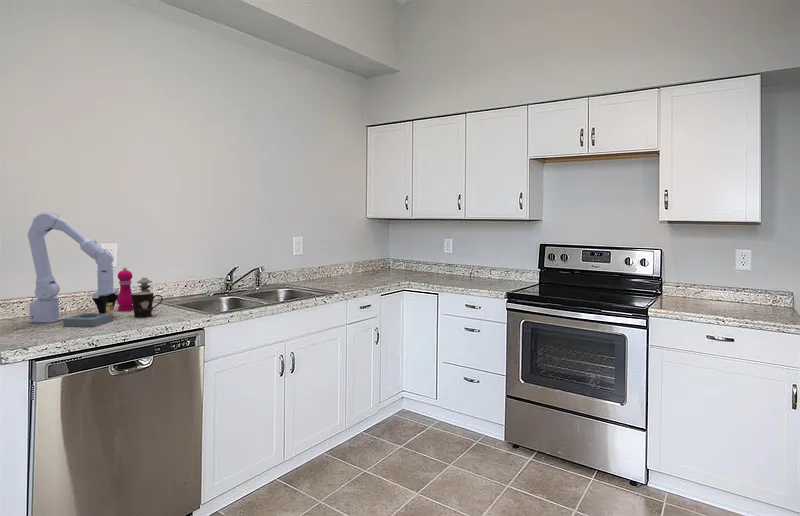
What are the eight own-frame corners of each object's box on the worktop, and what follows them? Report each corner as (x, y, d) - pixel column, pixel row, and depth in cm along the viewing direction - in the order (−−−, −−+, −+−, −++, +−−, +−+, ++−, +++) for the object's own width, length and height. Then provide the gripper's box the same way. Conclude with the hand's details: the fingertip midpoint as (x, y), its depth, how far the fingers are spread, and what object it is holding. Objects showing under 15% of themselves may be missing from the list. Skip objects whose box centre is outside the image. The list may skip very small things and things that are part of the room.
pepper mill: (130, 307, 230) (129, 265, 228) (137, 309, 225) (136, 266, 224) (114, 309, 224) (113, 266, 223) (120, 311, 220) (119, 267, 218)
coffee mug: (129, 318, 206) (128, 294, 205) (134, 314, 214) (134, 292, 213) (159, 317, 209) (158, 294, 208) (163, 313, 217) (163, 291, 216)
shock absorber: (147, 308, 229) (146, 276, 228) (155, 309, 226) (155, 277, 225) (134, 310, 223) (133, 278, 222) (143, 311, 220) (142, 279, 219)
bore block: (63, 326, 188) (63, 318, 188) (84, 320, 200) (83, 313, 200) (93, 327, 188) (93, 319, 188) (112, 320, 200) (112, 313, 200)
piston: (96, 317, 203) (96, 303, 203) (104, 315, 208) (103, 301, 208) (108, 317, 203) (108, 303, 203) (115, 315, 208) (115, 301, 208)
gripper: (104, 283, 197) (104, 316, 198) (125, 279, 212) (125, 309, 213) (86, 282, 197) (87, 315, 198) (109, 278, 212) (109, 309, 213)
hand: (106, 312), depth 206 cm, fingers closed on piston, 5 cm apart
